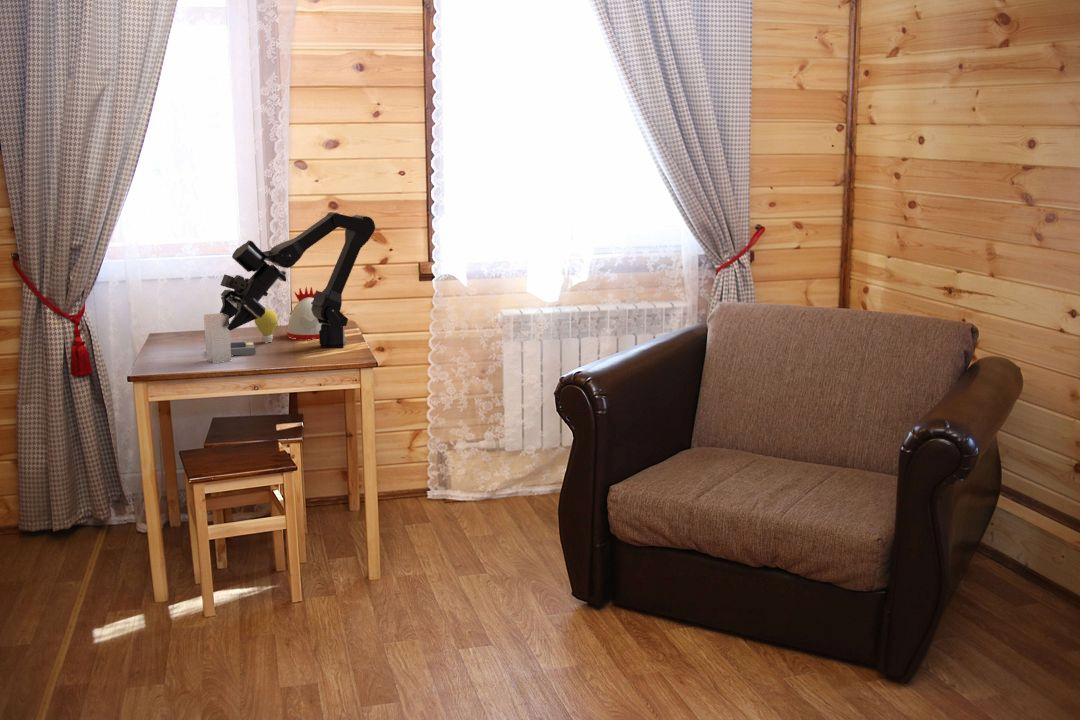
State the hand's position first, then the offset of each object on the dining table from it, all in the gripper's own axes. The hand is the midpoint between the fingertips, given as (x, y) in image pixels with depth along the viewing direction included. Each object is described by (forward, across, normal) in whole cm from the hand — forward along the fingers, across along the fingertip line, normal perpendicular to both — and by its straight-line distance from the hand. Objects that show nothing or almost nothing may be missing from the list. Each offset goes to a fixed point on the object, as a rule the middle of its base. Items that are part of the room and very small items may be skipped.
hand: (222, 326), depth 286 cm
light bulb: (-7, -16, +20) cm, 26 cm away
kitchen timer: (-17, -18, +30) cm, 39 cm away
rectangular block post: (+7, 0, +6) cm, 9 cm away
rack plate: (+3, -8, +10) cm, 13 cm away
